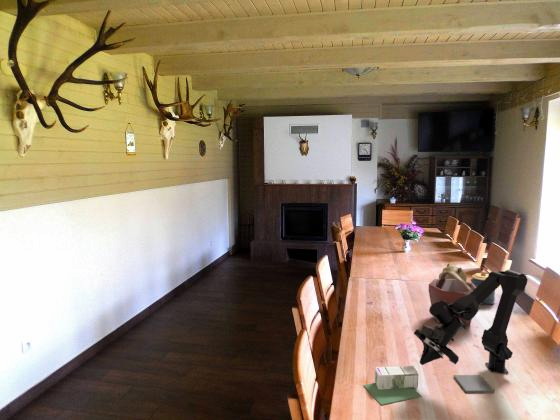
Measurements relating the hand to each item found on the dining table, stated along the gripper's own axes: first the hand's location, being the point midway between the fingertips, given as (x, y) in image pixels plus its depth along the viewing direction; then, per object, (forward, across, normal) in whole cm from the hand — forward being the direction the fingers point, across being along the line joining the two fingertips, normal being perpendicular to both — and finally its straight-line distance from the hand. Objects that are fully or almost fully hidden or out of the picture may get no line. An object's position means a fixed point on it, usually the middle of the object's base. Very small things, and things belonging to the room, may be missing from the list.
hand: (420, 363), depth 143 cm
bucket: (-29, -43, +42) cm, 67 cm away
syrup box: (+4, -1, +3) cm, 5 cm away
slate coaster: (-7, +6, +19) cm, 21 cm away
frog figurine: (-60, -94, +74) cm, 134 cm away
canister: (-54, -60, +68) cm, 106 cm away
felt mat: (+14, 0, -3) cm, 14 cm away
